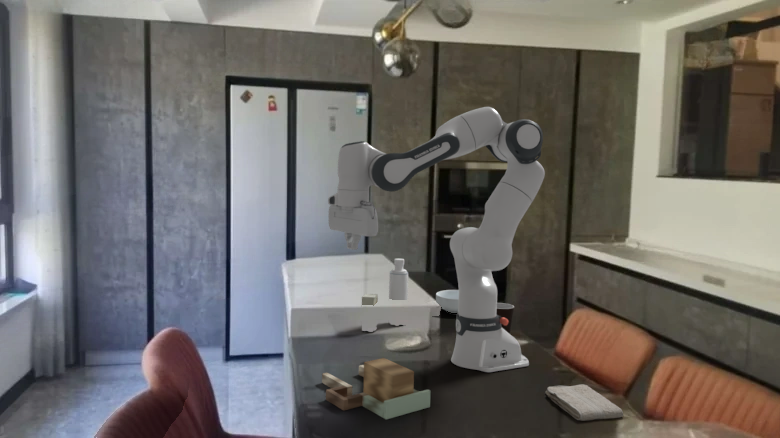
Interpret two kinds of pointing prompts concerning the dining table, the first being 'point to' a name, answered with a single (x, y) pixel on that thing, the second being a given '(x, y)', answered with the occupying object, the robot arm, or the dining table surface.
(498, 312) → the coffee mug
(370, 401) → the lane
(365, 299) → the skincare box
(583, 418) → the washcloth
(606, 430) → the dining table surface
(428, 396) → the end wall
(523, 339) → the dining table surface
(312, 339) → the dining table surface
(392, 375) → the block
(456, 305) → the cereal bowl
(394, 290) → the white bottle
